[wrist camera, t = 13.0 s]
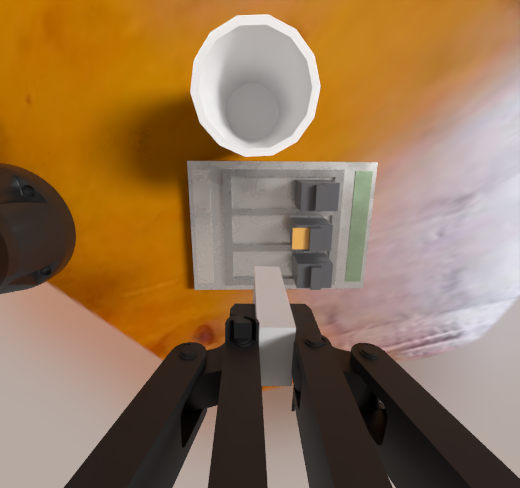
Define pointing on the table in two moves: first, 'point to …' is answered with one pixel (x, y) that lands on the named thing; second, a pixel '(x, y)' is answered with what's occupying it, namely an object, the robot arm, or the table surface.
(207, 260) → the panel
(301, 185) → the block
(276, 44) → the foam cup
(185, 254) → the table surface
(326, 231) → the breaker
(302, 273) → the breaker
